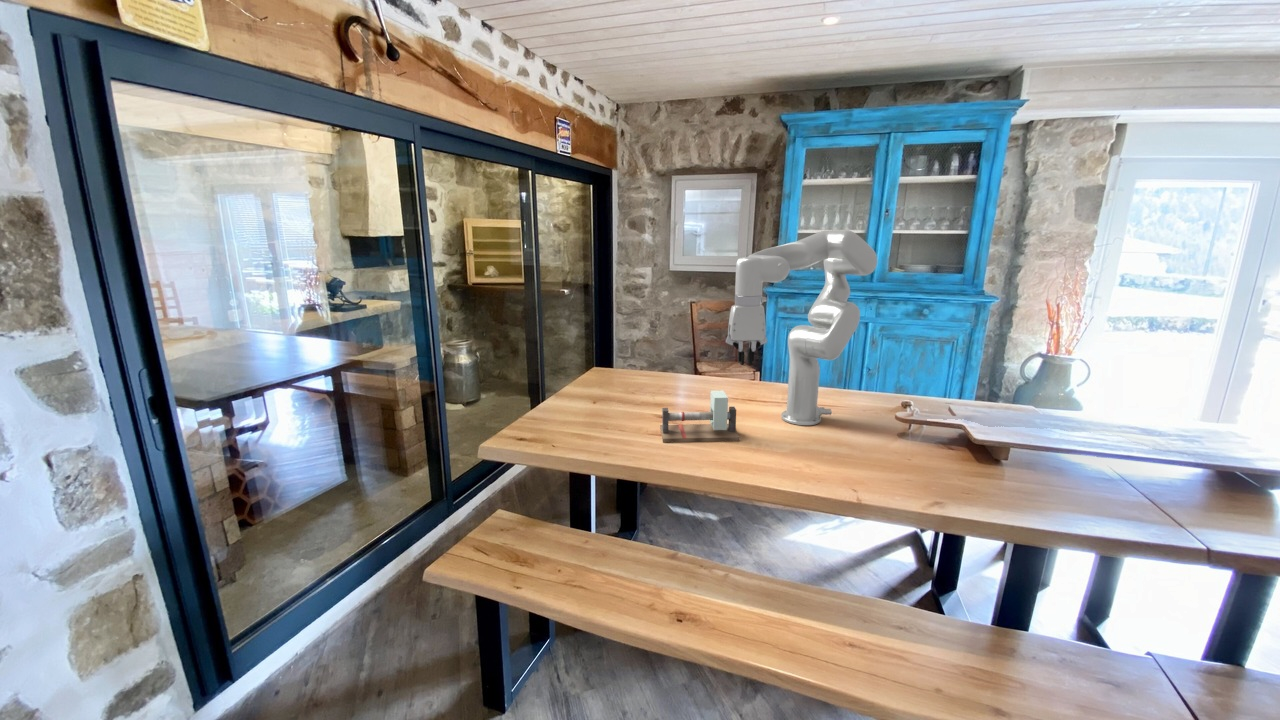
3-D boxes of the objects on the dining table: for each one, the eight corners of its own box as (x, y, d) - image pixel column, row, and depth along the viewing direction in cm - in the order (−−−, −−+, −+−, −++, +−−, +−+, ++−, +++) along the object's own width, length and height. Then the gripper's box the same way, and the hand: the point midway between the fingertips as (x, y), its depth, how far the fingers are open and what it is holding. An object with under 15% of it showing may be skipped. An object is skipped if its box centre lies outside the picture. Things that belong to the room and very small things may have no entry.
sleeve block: (722, 421, 157) (723, 390, 155) (726, 429, 151) (728, 397, 148) (709, 421, 157) (710, 390, 155) (713, 430, 151) (714, 397, 148)
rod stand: (731, 427, 160) (732, 402, 158) (739, 440, 149) (740, 414, 147) (660, 428, 160) (660, 403, 158) (662, 442, 149) (662, 415, 147)
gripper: (771, 299, 146) (768, 360, 151) (718, 300, 146) (716, 361, 150) (779, 302, 139) (775, 366, 143) (723, 303, 139) (721, 367, 143)
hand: (745, 363), depth 147 cm, fingers closed
